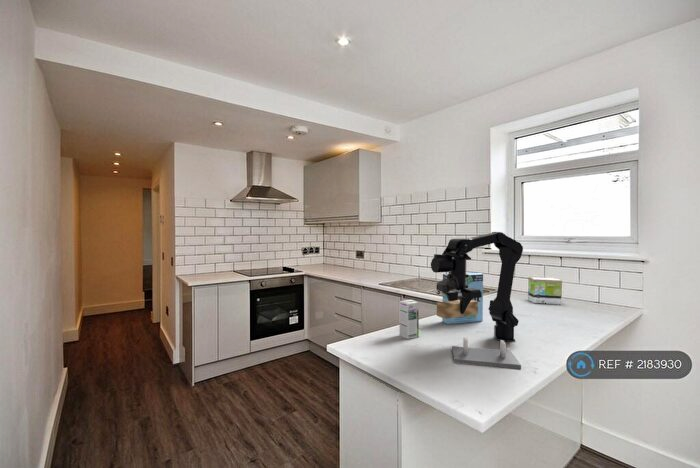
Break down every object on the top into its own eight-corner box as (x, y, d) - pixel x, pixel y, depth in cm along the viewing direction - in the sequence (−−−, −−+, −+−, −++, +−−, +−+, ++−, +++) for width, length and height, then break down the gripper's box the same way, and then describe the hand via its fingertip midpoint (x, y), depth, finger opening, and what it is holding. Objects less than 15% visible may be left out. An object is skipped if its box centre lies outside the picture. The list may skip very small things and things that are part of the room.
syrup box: (407, 339, 128) (408, 303, 128) (398, 335, 133) (399, 300, 133) (418, 337, 131) (419, 301, 130) (409, 333, 136) (410, 299, 136)
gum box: (476, 318, 158) (477, 272, 158) (483, 321, 153) (484, 274, 153) (441, 321, 153) (442, 273, 152) (447, 324, 148) (448, 275, 148)
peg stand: (510, 354, 113) (510, 336, 113) (520, 368, 102) (521, 349, 102) (451, 349, 118) (451, 332, 118) (455, 362, 106) (455, 344, 106)
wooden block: (469, 311, 128) (469, 298, 128) (477, 314, 124) (477, 301, 123) (436, 315, 121) (436, 302, 121) (444, 318, 117) (444, 305, 117)
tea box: (534, 303, 190) (534, 279, 190) (527, 300, 200) (527, 276, 200) (561, 304, 188) (562, 279, 188) (553, 301, 198) (554, 277, 197)
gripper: (425, 269, 127) (425, 308, 128) (458, 276, 110) (458, 321, 111) (447, 268, 132) (447, 305, 132) (483, 274, 115) (482, 317, 115)
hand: (457, 312), depth 122 cm, fingers closed on wooden block, 5 cm apart
